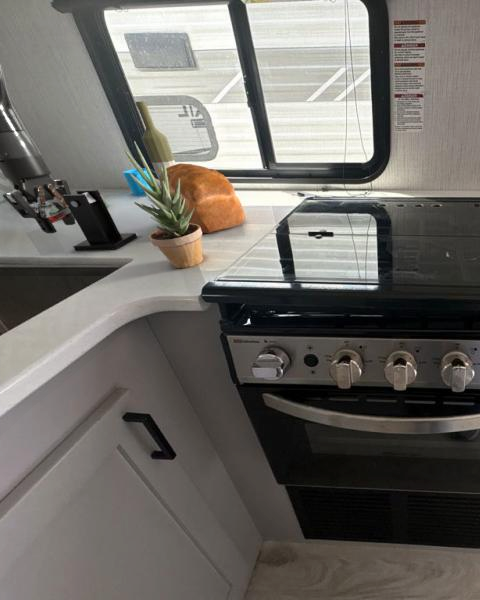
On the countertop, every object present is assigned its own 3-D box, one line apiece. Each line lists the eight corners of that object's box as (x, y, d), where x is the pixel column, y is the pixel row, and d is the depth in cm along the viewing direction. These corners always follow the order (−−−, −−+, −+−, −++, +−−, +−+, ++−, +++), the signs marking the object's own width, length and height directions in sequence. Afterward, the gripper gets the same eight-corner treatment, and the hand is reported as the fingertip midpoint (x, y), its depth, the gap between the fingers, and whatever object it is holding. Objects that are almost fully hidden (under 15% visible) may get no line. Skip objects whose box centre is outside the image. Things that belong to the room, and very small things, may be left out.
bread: (202, 237, 86) (179, 175, 77) (165, 217, 100) (142, 163, 92) (252, 222, 95) (236, 165, 86) (211, 206, 109) (194, 156, 101)
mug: (133, 192, 128) (123, 170, 123) (157, 189, 132) (148, 167, 127) (133, 199, 119) (122, 175, 115) (159, 195, 123) (150, 172, 119)
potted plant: (157, 263, 73) (99, 141, 60) (201, 249, 79) (158, 136, 66) (173, 277, 67) (113, 145, 54) (219, 261, 73) (176, 139, 60)
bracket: (75, 250, 80) (43, 198, 73) (99, 238, 87) (72, 188, 80) (116, 249, 80) (88, 196, 74) (137, 237, 87) (113, 187, 80)
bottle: (180, 199, 117) (143, 101, 101) (161, 200, 118) (121, 102, 101) (191, 194, 123) (158, 101, 107) (173, 194, 123) (137, 101, 107)
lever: (49, 227, 79) (39, 218, 77) (66, 220, 83) (57, 211, 82) (84, 205, 76) (75, 196, 75) (100, 199, 80) (92, 190, 79)
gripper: (29, 150, 78) (69, 219, 87) (-36, 160, 66) (18, 240, 75) (61, 149, 78) (98, 218, 87) (1, 159, 66) (51, 239, 75)
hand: (61, 228), depth 81 cm, fingers closed on lever, 5 cm apart
